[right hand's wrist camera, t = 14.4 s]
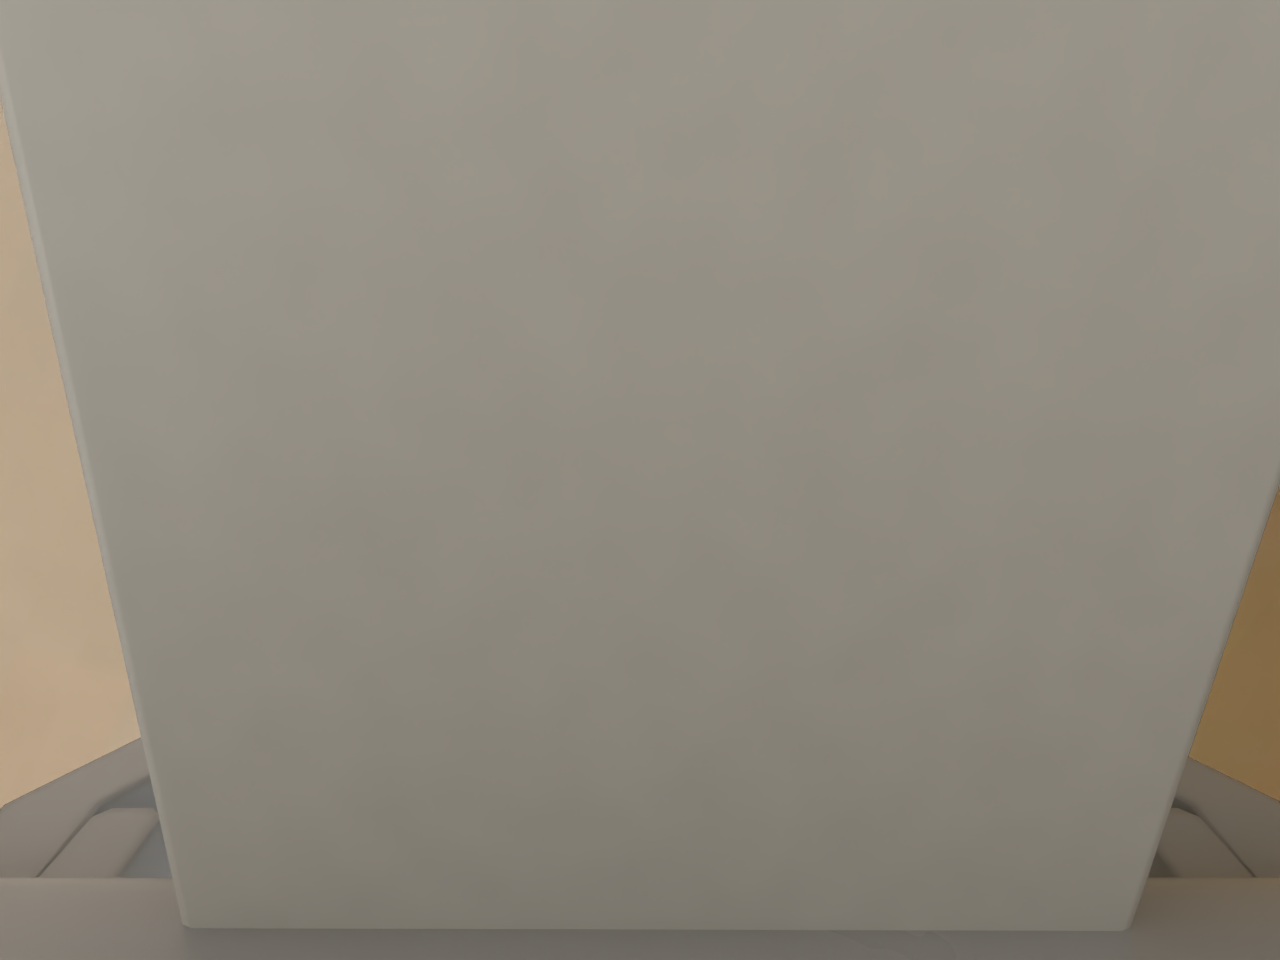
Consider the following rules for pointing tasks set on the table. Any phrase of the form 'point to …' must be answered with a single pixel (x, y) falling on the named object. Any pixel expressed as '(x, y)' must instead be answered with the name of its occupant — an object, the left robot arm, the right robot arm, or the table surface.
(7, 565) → the table surface
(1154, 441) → the bar
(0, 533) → the table surface
